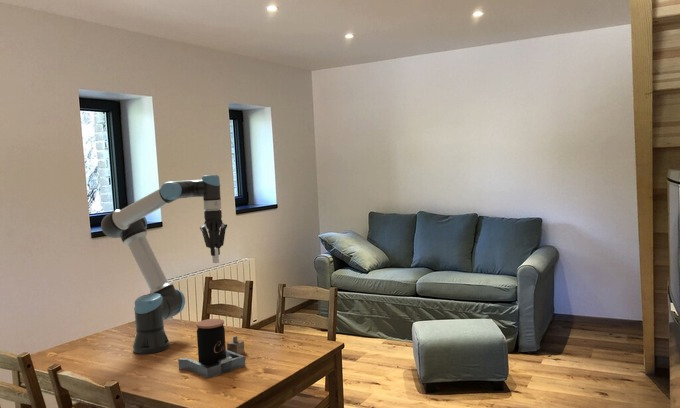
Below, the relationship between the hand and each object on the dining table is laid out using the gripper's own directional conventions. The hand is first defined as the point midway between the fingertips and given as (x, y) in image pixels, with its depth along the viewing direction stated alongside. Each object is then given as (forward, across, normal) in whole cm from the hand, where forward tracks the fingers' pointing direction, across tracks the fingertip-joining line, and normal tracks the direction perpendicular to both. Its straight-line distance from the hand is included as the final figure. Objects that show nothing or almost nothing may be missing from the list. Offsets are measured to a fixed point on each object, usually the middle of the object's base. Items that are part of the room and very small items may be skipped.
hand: (215, 262), depth 252 cm
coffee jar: (+37, -19, -25) cm, 48 cm away
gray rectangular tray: (+36, -19, -26) cm, 48 cm away
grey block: (+37, -4, -18) cm, 41 cm away
